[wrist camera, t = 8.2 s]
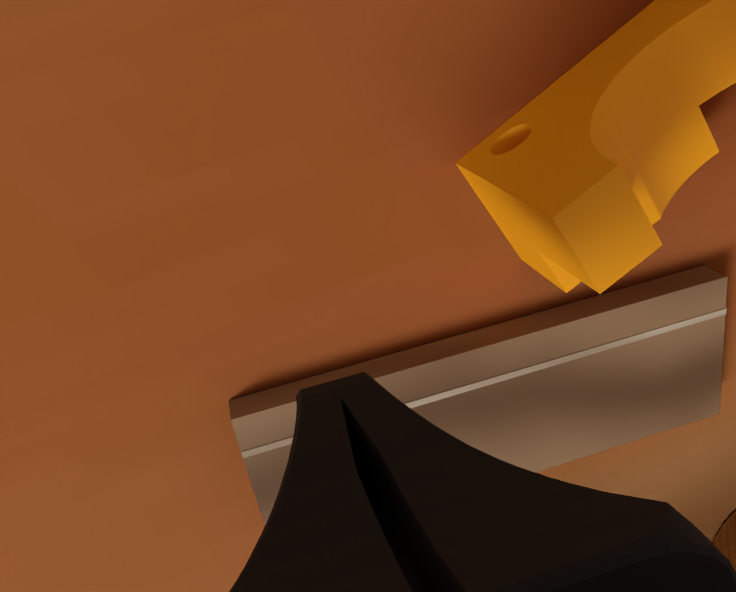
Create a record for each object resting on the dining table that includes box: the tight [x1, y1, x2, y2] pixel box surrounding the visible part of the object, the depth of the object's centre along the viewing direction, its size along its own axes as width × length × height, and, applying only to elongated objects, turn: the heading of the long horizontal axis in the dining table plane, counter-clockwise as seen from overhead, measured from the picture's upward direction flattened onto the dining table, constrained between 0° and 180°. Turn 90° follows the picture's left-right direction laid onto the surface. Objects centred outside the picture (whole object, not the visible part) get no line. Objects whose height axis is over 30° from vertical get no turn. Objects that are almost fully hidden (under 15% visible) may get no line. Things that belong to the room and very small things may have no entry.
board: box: [229, 265, 728, 525], centre depth 24 cm, size 6×18×1 cm, turn 101°
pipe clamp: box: [456, 0, 736, 294], centre depth 19 cm, size 12×4×6 cm, turn 127°
